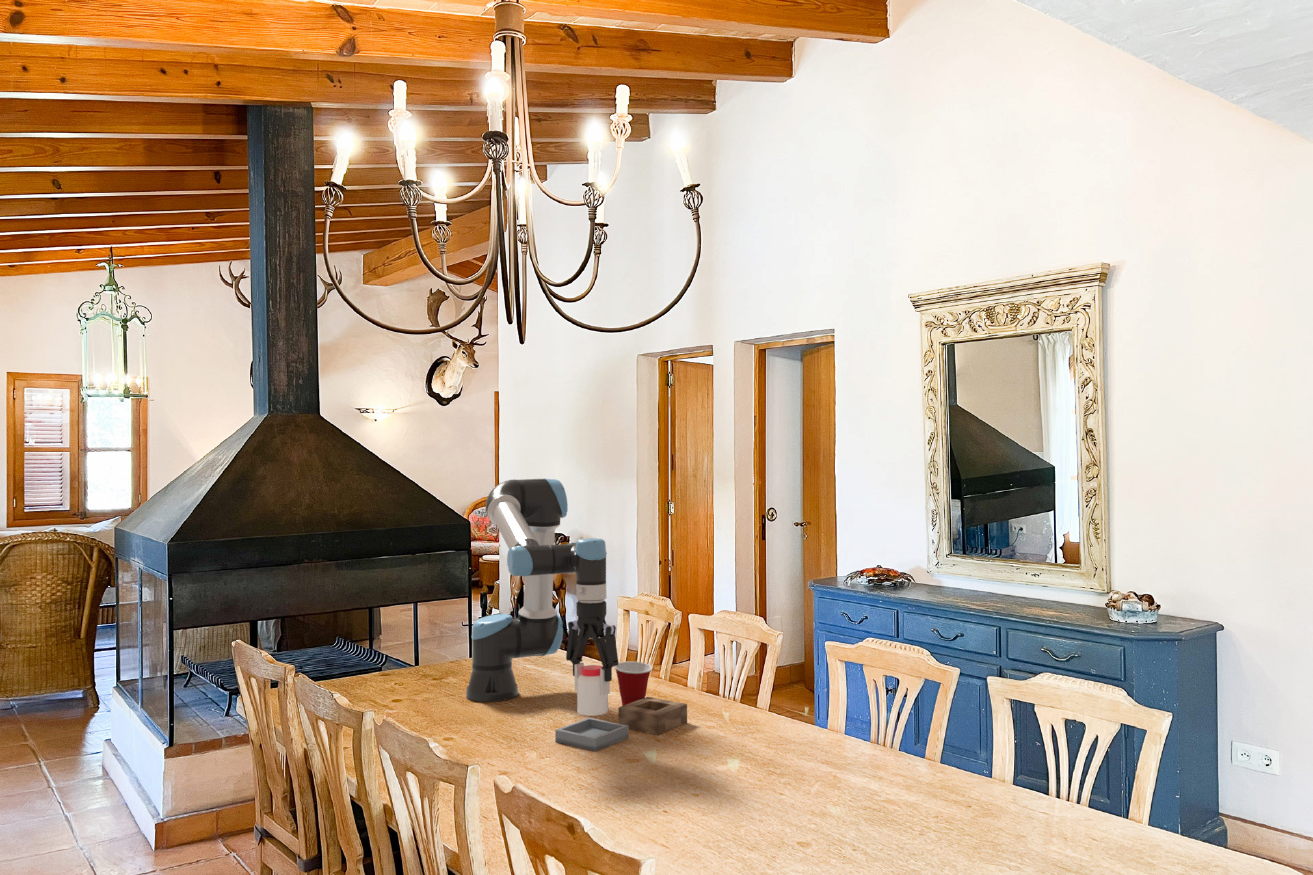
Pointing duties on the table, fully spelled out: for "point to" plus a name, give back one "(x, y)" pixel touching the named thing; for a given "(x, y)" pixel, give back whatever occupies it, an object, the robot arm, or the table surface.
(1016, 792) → the table surface
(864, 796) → the table surface
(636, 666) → the plastic cup
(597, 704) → the pill bottle
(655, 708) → the cinder block
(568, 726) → the tray
